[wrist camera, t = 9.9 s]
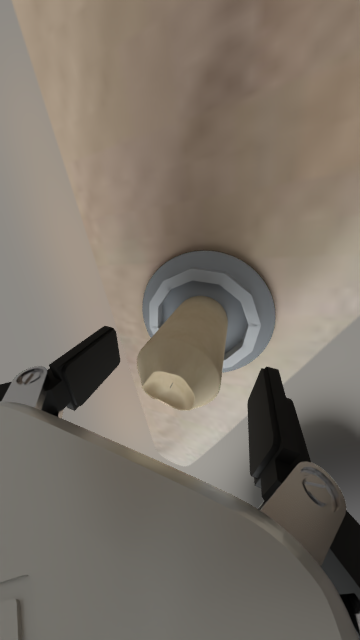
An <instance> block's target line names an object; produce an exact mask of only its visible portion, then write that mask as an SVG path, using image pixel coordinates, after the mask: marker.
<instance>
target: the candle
mask: <svg viewBox="0 0 360 640" xmlns="http://www.w3.org/2000/svg"><path fill="white" fill-rule="evenodd" d="M227 327H228V319H227V315H226V312H225V310H224V308H223V307H222V306H221V304H220V303H218V302H217V301H216V300H214V299H212V298H210V297H206V296H194V297H191V298H189V299H187V300H185V301H184V302H183V303H182V304H181V305H180V306H179V307H178V308H177V309H176V310H175V311H174V312H173V314H172V315H171V316H170V317H169V318H168V319H167V320H166V322H165V323H164V324H163V325H162V326H161V327H160V328H159V330H158V331H157V332H156V333H155V334H154V335H153V336H152V338H151V339H150V340H149V341H148V342H147V343H146V344H145V346H144V347H143V348H142V349H141V351H140V352H139V355H138V358H137V369H138V373H139V376H140V379H141V383H142V389H143V390H144V391H145V393H147V394H148V395H149V396H150V397H151V398H153V399H157V400H159V401H160V402H162V403H164V404H166V405H168V406H171V407H173V408H174V409H177V410H192V409H194V408H198V407H201V406H204V405H206V404H208V403H210V402H211V401H212V400H214V399H215V397H216V396H217V394H218V393H219V390H220V385H221V377H222V369H223V361H224V352H225V344H226V336H227Z"/></svg>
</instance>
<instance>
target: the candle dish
mask: <svg viewBox="0 0 360 640" xmlns="http://www.w3.org/2000/svg"><path fill="white" fill-rule="evenodd" d="M194 296H206V297H210V298H212V299H214V300H216V301H217V302H218V303H220V304H221V306H222V307H223V308H224V310H225V312H226V315H227V319H228V327H227V336H226V344H225V352H224V361H223V369H222V372H228V371H232V370H235V369H238V368H241V367H243V366H245V365H247V364H248V363H250V362H252V361H253V360H254V359H255V358H257V357H258V356H259V355H260V354H261V353H262V351H263V350H264V349H265V347H266V346H267V345H268V343H269V341H270V339H271V337H272V333H273V330H274V325H275V307H274V302H273V299H272V296H271V293H270V291H269V289H268V287H267V286H266V284H265V282H264V281H263V279H262V278H261V277H260V276H259V274H258V273H257V272H256V271H255V270H254V269H253V268H252V267H250V266H249V265H248V264H246V263H245V262H243V261H242V260H240V259H238V258H236V257H234V256H231V255H228V254H225V253H222V252H217V251H193V252H189V253H185V254H182V255H180V256H177V257H175V258H173V259H171V260H169V261H168V262H166V263H165V264H164V265H162V266H161V267H160V268H159V269H158V270H157V271H156V272H155V273H154V275H153V276H152V278H151V279H150V281H149V283H148V285H147V287H146V290H145V293H144V298H143V318H144V322H145V325H146V328H147V331H148V333H149V335H150V337H151V338H152V336H153V335H154V334H155V333H156V332H157V331H158V330H159V328H160V327H161V326H162V325H163V324H164V323H165V322H166V320H167V319H168V318H169V317H170V316H171V315H172V314H173V312H174V311H175V310H176V309H177V308H178V307H179V306H180V305H181V304H182V303H183V302H184V301H185V300H187V299H189V298H191V297H194Z"/></svg>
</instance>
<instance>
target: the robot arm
mask: <svg viewBox="0 0 360 640" xmlns="http://www.w3.org/2000/svg"><path fill="white" fill-rule="evenodd" d="M119 363H120V355H119V349H118V343H117V336H116V331H115V330H114V328H111V327H108V326H104V327H102V328H101V329H99V330H98V331H97V332H95V333H94V334H92V335H91V336H89V337H88V338H87V339H85V340H84V341H82V342H81V343H80V344H78V345H77V346H75V347H74V348H72V349H71V350H70V351H68V352H67V353H65V354H64V355H62V356H61V357H60V358H58V359H57V360H55V361H54V362H53V363H51V364H50V365H49V366H50V369H48V370H47V369H46V368H45V367H43V366H36V367H32V368H29V369H26V370H24V371H22V372H21V373H19V374H18V375H17V376H16V377H15V378H14V379H13V381H12V382H9V383H5V384H1V385H0V640H360V525H359V524H358V523H357V521H356V520H355V519H354V518H353V517H352V516H351V515H350V514H349V513H348V512H347V510H346V502H345V499H344V496H343V494H342V492H341V490H340V488H339V486H338V485H337V483H336V482H335V481H334V480H333V479H332V478H331V476H330V475H329V474H328V473H327V472H326V471H324V470H323V469H322V468H321V467H319V466H317V465H315V464H314V463H311V461H310V458H309V454H308V451H307V447H306V444H305V441H304V437H303V434H302V430H301V427H300V424H299V420H298V417H297V414H296V410H295V407H294V404H293V401H292V400H291V399H289V398H286V396H285V392H284V389H283V385H282V381H281V377H280V374H279V370H278V369H274V368H270V367H266V368H265V369H263V368H262V369H261V371H260V373H259V375H258V378H257V380H256V383H255V385H254V387H253V390H252V392H251V394H250V397H249V399H248V429H249V456H250V474H251V476H252V477H254V480H255V481H254V482H255V486H257V487H259V488H261V489H262V497H263V499H264V502H263V503H262V504H261V506H260V507H259V508H258V509H257V508H255V507H253V506H252V505H250V504H248V503H246V502H245V501H243V500H241V499H239V498H237V497H235V496H233V495H231V494H229V493H227V492H225V491H223V490H221V489H218V488H216V487H214V486H212V485H210V484H208V483H206V482H203V481H201V480H199V479H197V478H195V477H193V476H191V475H188V474H186V473H184V472H182V471H179V470H177V469H175V468H173V467H170V466H168V465H166V464H164V463H161V462H159V461H157V460H155V459H152V458H150V457H148V456H146V455H144V454H141V453H139V452H137V451H134V450H132V449H130V448H128V447H125V446H123V445H121V444H119V443H116V442H114V441H112V440H110V439H107V438H105V437H102V436H100V435H98V434H96V433H94V432H91V431H89V430H87V429H84V428H82V427H80V426H77V425H75V424H73V423H71V422H68V421H66V420H63V419H62V415H63V409H64V408H65V407H66V406H67V407H68V408H70V409H72V410H74V411H75V410H76V409H77V408H78V407H79V406H81V405H82V404H83V403H84V402H85V401H86V400H87V399H88V398H89V397H90V396H91V395H92V393H93V392H94V391H95V390H96V389H97V388H98V387H99V386H100V384H102V383H103V381H104V380H105V379H106V378H107V377H108V376H109V375H110V374H111V373H112V371H113V370H114V369H115V368H116V367H117V366H118V365H119Z"/></svg>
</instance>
